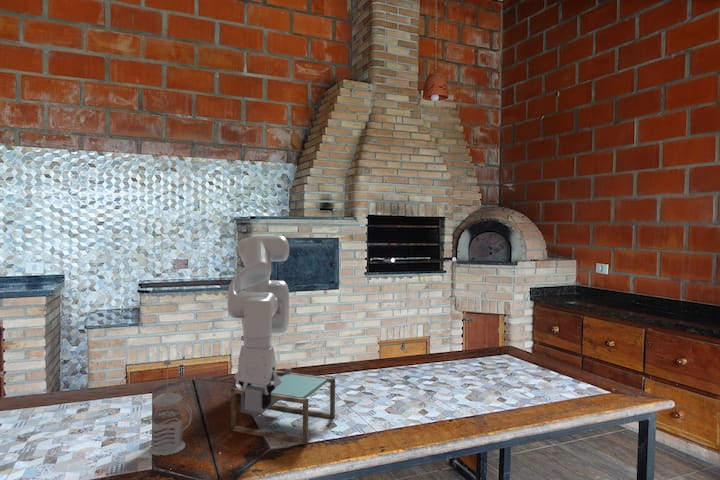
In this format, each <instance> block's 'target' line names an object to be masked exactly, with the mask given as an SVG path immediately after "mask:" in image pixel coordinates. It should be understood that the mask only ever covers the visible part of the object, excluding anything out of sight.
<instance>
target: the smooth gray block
mask: <svg viewBox="0 0 720 480" xmlns="http://www.w3.org/2000/svg"><path fill="white" fill-rule="evenodd" d="M263 394H264V390H263V386H262V385H256V384H251V385H249V386H248V387H246V388H245V410H251V411H256V412H261V411H263V410H264V409H263V408H262V396H263ZM265 409H266V408H265ZM266 410H267V409H266ZM263 412H264V411H263Z"/></svg>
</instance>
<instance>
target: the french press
mask: <svg viewBox="0 0 720 480" xmlns="http://www.w3.org/2000/svg"><path fill="white" fill-rule="evenodd" d="M171 363H172V362H171V360H169V359H166V360H164V361H163V365H165V366H166V392H165V393H161V394H159V395H157V396H155V398H152V399H151V400H152V401H151V403H152V405H153V406H156V407H166V409H161V410H158V411H156V412H155V413H154V414H153V418H152V441H151V442H152V445H151V446H150V447H149V448H148V453H149V454H151V455H154V456H160V455H163V456H170V455H174V454H177V453H178V452H181V451H183V450H184V449H185V447H186V442H184V440H183V431H185V430H186V429H187V428H188V427H189V426H190V424H191V422H192V419H193V410H192V408H191V406H189V404H187V403H185V402H182V400H183V396H182V395H180V394H178V393H176V392H175V393H174V392H169V390H168V389H169V388H168V387H169V384H168V382H169V381H168V380H169V371H168V369H169V368H168V367H169V366H168V365H171ZM180 402H182V403H181V404H180V406H179V409H177V408H168V407H169V406H175V405H177V404H179V403H180ZM186 406H187V407H186ZM183 408H184V409H186V410H187V412H188V415H189V421H188V424H186V425H185V426H184V427H183V423H182V422H183V416H182V415H181V412H182V411H181V410H182V409H183ZM176 418H177V419H176ZM166 421H167V422H166ZM164 422H165V423H164ZM180 450H181V451H180ZM173 453H174V454H173ZM169 454H170V455H169Z"/></svg>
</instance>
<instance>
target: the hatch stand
mask: <svg viewBox="0 0 720 480" xmlns="http://www.w3.org/2000/svg"><path fill="white" fill-rule="evenodd" d="M292 371H293V370H292V367H285V369H284V371H281V370H276V374H277V375H278V376H284V375H286V374H293V375H300V376H308V377H315V378H323V379H327V383H329V385H330V387H329V388H330V389H329V393H330V394H329V400H330V401H329V412H325V411H319V410H313V409H309V398H299V397H293V396H286V395H279V394H273V393H271V399H275V400H279V401H281V402H290V403H295V404H302V407H295V406H288V405H283V404H277V403H275V404H273V405H272V406H270V407H269V408H268V409H272V410H273V409H274V410H276V411H277V410H279V411H284V412H289V413H291V412H292V413H296V414H302V437H301V436H295V435H294V436H293V435H288V434H284V433H283V434H282V433H279V432H278V433H277V432H271V431H267V430H261V429H257V428H256V429H255V428H250V427H245V426H240V425H238V424H237V423H238V422H237V418H238V417H237V416H238V415H237V410H238V408H237V407H238V406H237V404H238V403H237V402H238V401H237V398H238V397H237V396H238V395H241V394H243V395H244V391H243V390H242V389H240V388H241V387H239V388H238V387H232V388H231V389H230V431H231V430H232V431H231V432H236V431H237V433H242V434H248V435H253V436H259V437H262V438H269V439H273V440H278V441H279V440H280V441H284V442H290V443H295V444H301V445H305V446H306V445H308V444H309V416H314V417H321V418H328V419H335V418H336V413H335V412H336V377H335V378H333V377H326V376H319V375H311V374H305V373H304V374H303V373H297V372H296V373H295V372H292Z"/></svg>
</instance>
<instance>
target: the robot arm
mask: <svg viewBox="0 0 720 480" xmlns="http://www.w3.org/2000/svg"><path fill="white" fill-rule="evenodd" d="M237 251H238V254H239V258H240V259H241V261H242V263H243V266H244V267H243V269H242V270H240V271H239V272H238V273H236V275H235V276H234V277H232V280H231V281H230V283H229V285H228V292H227V313H228V315H229V316H230V317H231V318H234V319H241V327H242V334H243V335H241V336H240V341H243V345H241V347H240V351H239V355H238V356H239V357H238V364H237V365H238V366H237V372H235V374H234V375H233V378H234V379H235V385H239V386H240V387H239V388H240V389H242V390H243V391H244V401H245V388H246V387H248V386H249V385H251V384H256V385H262V386H263V390H264V394H263V396H262V408H263V409H265V408H267V407H268V406H270V404H271V392H272V391H273V390H274V389H275V388H276V387H278V386H279V385H280V384H281V383H282V382H281V380H280V378H279V377H278V375H277V374H276V371H277V364H276V363H277V361H276V353H275V349H274V346H272V335H273V334H282V333H286V331H288V328H289V319H290V317H289V316H290V315H289V314H290V291H289V286H288V284H287V283H286V281H285V280H276V279H275V280H270V277H271V274H272V272H273V271H272V262H273V263H274V262H276V263H277V262H280V263H281V262H286V261H287V260H288V258H289V256H290V244H289V241H288V239H287V237H285V236H284V235H253V236H251V237H246V238H242V239H240V240H239V241H238V244H237ZM243 290H245V292H242V291H243ZM271 381H274V384H273V385H272V384H271ZM267 409H268V408H267Z"/></svg>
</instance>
